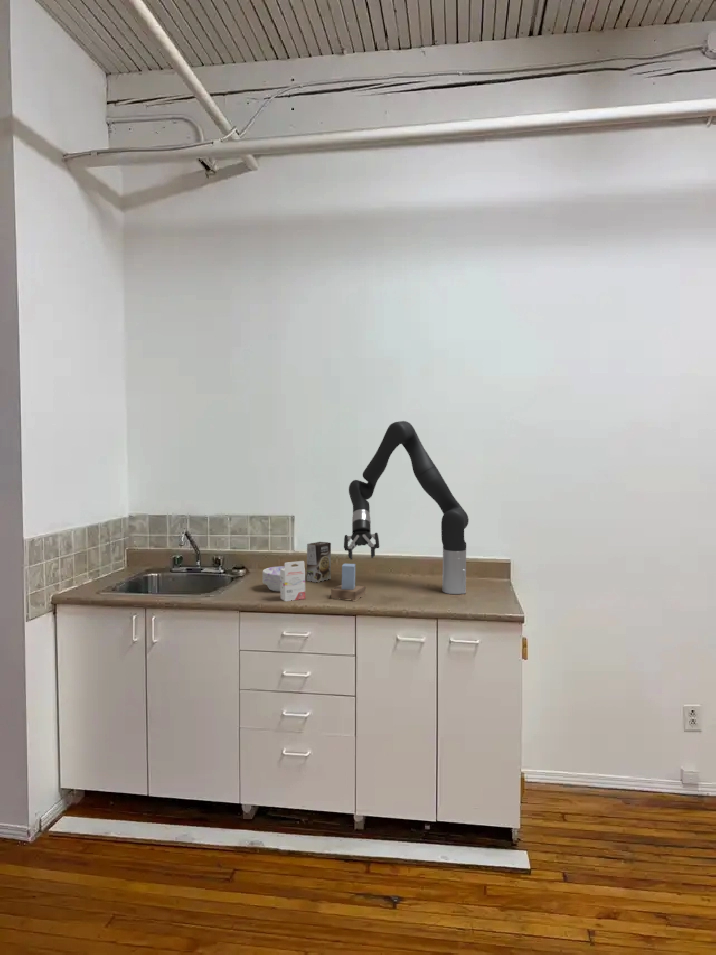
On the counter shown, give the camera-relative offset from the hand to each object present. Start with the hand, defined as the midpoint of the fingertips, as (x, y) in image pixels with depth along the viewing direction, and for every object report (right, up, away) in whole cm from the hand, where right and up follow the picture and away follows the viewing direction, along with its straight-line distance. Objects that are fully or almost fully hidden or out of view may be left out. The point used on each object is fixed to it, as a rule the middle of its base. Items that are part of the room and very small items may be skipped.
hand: (361, 557), depth 269 cm
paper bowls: (-33, -13, +3) cm, 35 cm away
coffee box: (-18, -12, +20) cm, 29 cm away
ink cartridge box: (-26, -14, -13) cm, 33 cm away
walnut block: (-5, -14, -10) cm, 18 cm away
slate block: (-5, -10, -11) cm, 16 cm away
